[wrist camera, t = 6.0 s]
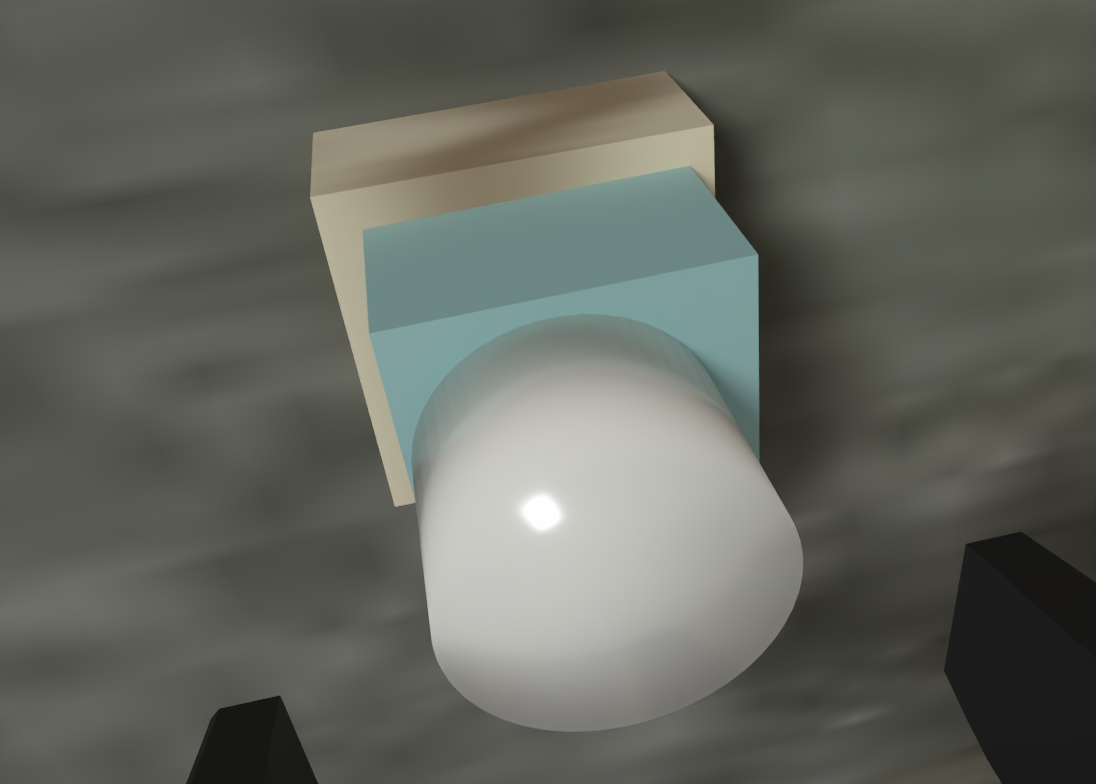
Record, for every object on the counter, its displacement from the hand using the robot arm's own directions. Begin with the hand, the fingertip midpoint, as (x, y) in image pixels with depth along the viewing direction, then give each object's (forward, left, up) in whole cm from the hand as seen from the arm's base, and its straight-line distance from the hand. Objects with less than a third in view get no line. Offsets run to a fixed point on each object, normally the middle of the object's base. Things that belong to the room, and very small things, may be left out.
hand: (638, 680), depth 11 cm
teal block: (0, 0, -7) cm, 7 cm away
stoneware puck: (0, 0, -4) cm, 4 cm away
